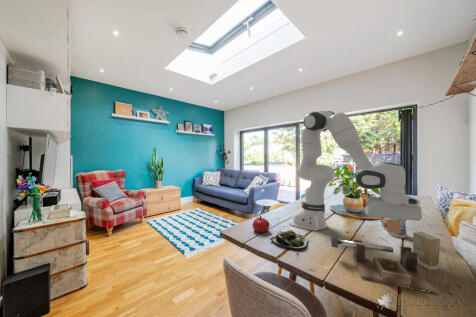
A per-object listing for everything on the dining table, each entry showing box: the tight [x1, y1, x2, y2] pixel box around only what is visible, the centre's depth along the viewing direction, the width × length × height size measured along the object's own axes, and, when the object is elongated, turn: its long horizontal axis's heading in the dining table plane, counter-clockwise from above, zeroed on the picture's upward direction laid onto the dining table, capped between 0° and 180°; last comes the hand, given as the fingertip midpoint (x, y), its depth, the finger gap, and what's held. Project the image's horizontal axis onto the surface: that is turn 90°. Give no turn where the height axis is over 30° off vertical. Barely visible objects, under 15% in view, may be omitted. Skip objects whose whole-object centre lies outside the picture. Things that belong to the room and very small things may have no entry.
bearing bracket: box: [351, 239, 437, 294], centre depth 66 cm, size 20×14×8 cm
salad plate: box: [269, 229, 308, 251], centre depth 93 cm, size 19×18×5 cm
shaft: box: [330, 234, 394, 254], centre depth 73 cm, size 21×4×4 cm, turn 68°
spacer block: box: [382, 218, 401, 234], centre depth 80 cm, size 4×4×5 cm
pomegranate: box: [252, 214, 271, 234], centre depth 104 cm, size 10×10×9 cm
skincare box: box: [412, 231, 441, 271], centre depth 70 cm, size 6×4×12 cm
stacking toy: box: [388, 219, 408, 239], centre depth 96 cm, size 8×8×19 cm
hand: (391, 227), depth 80 cm, fingers closed on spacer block, 4 cm apart
